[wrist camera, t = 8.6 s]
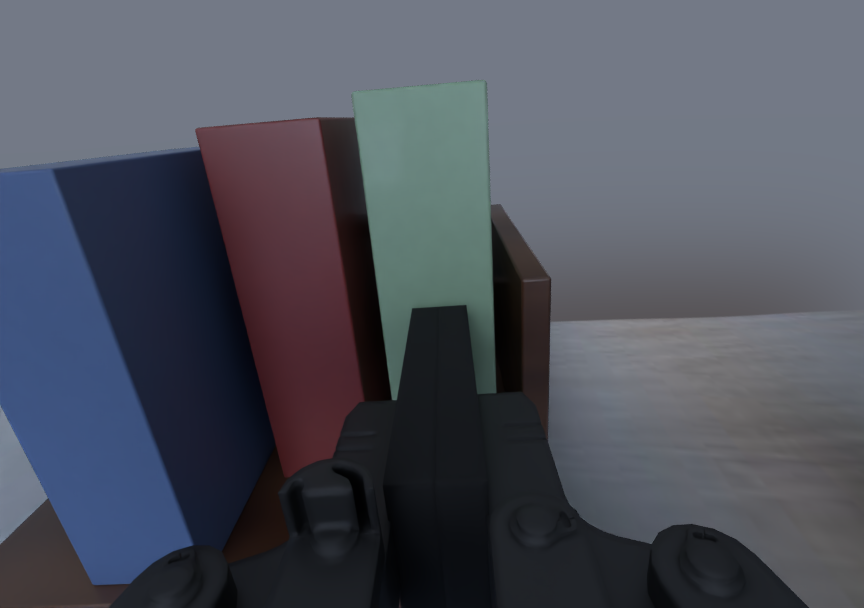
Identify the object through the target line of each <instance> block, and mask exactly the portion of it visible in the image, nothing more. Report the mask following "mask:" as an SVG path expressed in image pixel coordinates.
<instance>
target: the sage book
mask: <svg viewBox="0 0 864 608" xmlns="http://www.w3.org/2000/svg"><path fill="white" fill-rule="evenodd" d="M352 103H353V111H354V118H355V126H356V134H357V141H358V149H359V156H360V164H361V171H362V179H363V186H364V194H365V201H366V209H367V217H368V224H369V232H370V239H371V247H372V254H373V262H374V269H375V277H376V284H377V292H378V299H379V307H380V315H381V322H382V330H383V337H384V345H385V352H386V360H387V367H388V375H389V382H390V390H391V397H392V400H397V396H398V390H399V384H400V378H401V372H402V366H403V360H404V354H405V348H406V342H407V336H408V330H409V324H410V318H411V312H412V308H425V307H441V306H457V305H467V314H468V322H469V330H470V338H471V347H472V355H473V363H474V372H475V380H476V388H477V394H487V393H497V391H496V358H495V326H494V294H493V262H492V230H491V198H490V166H489V135H488V102H487V83H486V81H485V80H477V81H466V82H455V83H443V84H432V85H421V86H410V87H399V88H388V89H377V90H366V91H355V92H353V93H352Z"/></svg>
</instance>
